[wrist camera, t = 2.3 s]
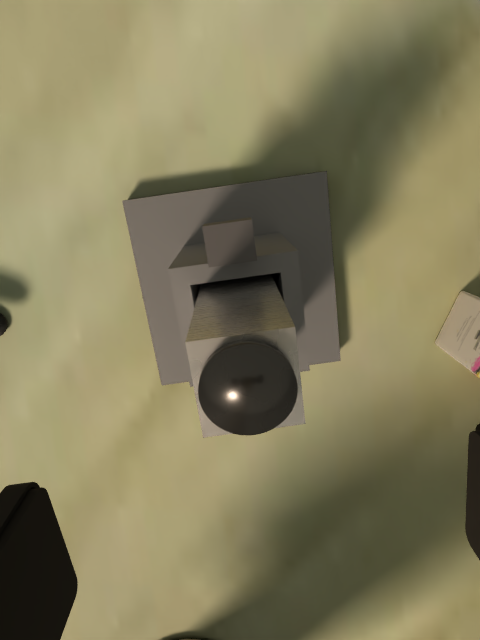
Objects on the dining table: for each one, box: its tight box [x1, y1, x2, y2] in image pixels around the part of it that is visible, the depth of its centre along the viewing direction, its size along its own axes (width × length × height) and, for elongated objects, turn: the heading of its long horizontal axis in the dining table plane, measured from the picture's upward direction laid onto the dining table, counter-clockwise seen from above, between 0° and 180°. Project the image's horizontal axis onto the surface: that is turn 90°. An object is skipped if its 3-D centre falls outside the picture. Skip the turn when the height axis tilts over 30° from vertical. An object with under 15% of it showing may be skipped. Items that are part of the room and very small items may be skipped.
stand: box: [122, 171, 341, 387], centre depth 28 cm, size 14×14×11 cm
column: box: [185, 274, 305, 438], centre depth 24 cm, size 4×4×17 cm
